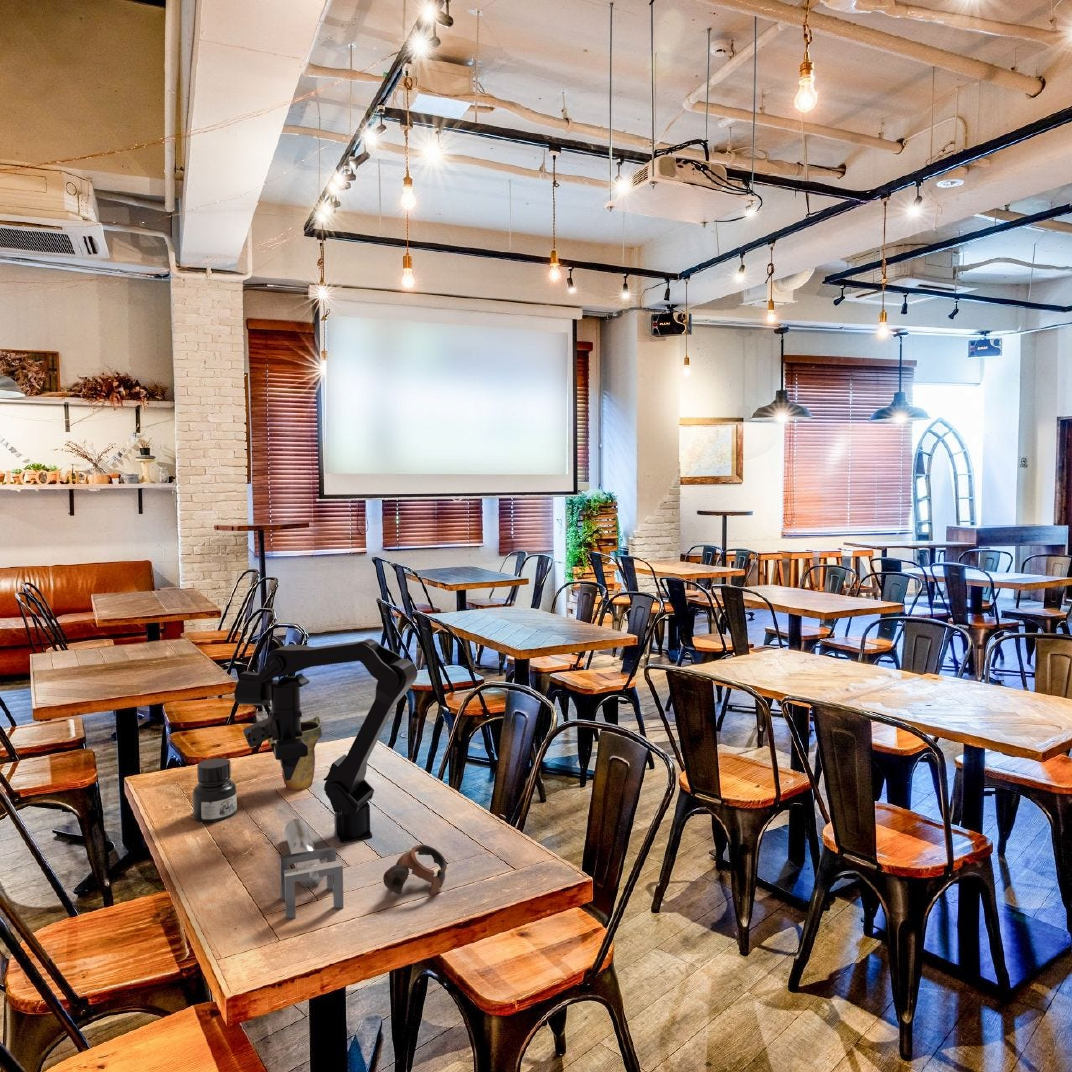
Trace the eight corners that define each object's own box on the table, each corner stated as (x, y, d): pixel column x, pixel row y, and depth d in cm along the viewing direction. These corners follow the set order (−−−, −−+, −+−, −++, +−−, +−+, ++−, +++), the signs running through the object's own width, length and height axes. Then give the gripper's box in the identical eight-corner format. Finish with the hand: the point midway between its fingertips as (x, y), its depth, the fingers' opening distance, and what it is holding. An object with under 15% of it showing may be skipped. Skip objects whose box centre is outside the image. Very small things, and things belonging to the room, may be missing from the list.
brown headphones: (411, 871, 151) (431, 836, 150) (440, 909, 146) (461, 872, 145) (363, 882, 142) (383, 845, 141) (392, 923, 136) (414, 884, 135)
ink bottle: (205, 828, 171) (204, 773, 171) (183, 819, 177) (182, 765, 176) (246, 814, 179) (245, 761, 178) (224, 805, 184) (222, 753, 184)
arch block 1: (335, 888, 145) (334, 846, 145) (336, 891, 144) (335, 849, 144) (281, 899, 141) (279, 856, 141) (281, 902, 140) (280, 859, 140)
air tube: (281, 838, 164) (288, 816, 165) (302, 842, 166) (310, 820, 166) (294, 886, 144) (303, 861, 145) (319, 889, 146) (327, 865, 146)
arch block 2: (342, 906, 139) (341, 860, 138) (343, 909, 138) (342, 862, 137) (285, 918, 135) (284, 870, 135) (286, 921, 134) (285, 873, 133)
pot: (285, 805, 184) (283, 727, 183) (251, 796, 190) (249, 721, 189) (339, 781, 199) (337, 709, 198) (305, 774, 204) (304, 704, 203)
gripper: (242, 699, 174) (244, 770, 175) (248, 722, 157) (250, 800, 158) (295, 694, 179) (297, 763, 179) (307, 715, 161) (309, 792, 162)
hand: (287, 779), depth 170 cm, fingers closed
